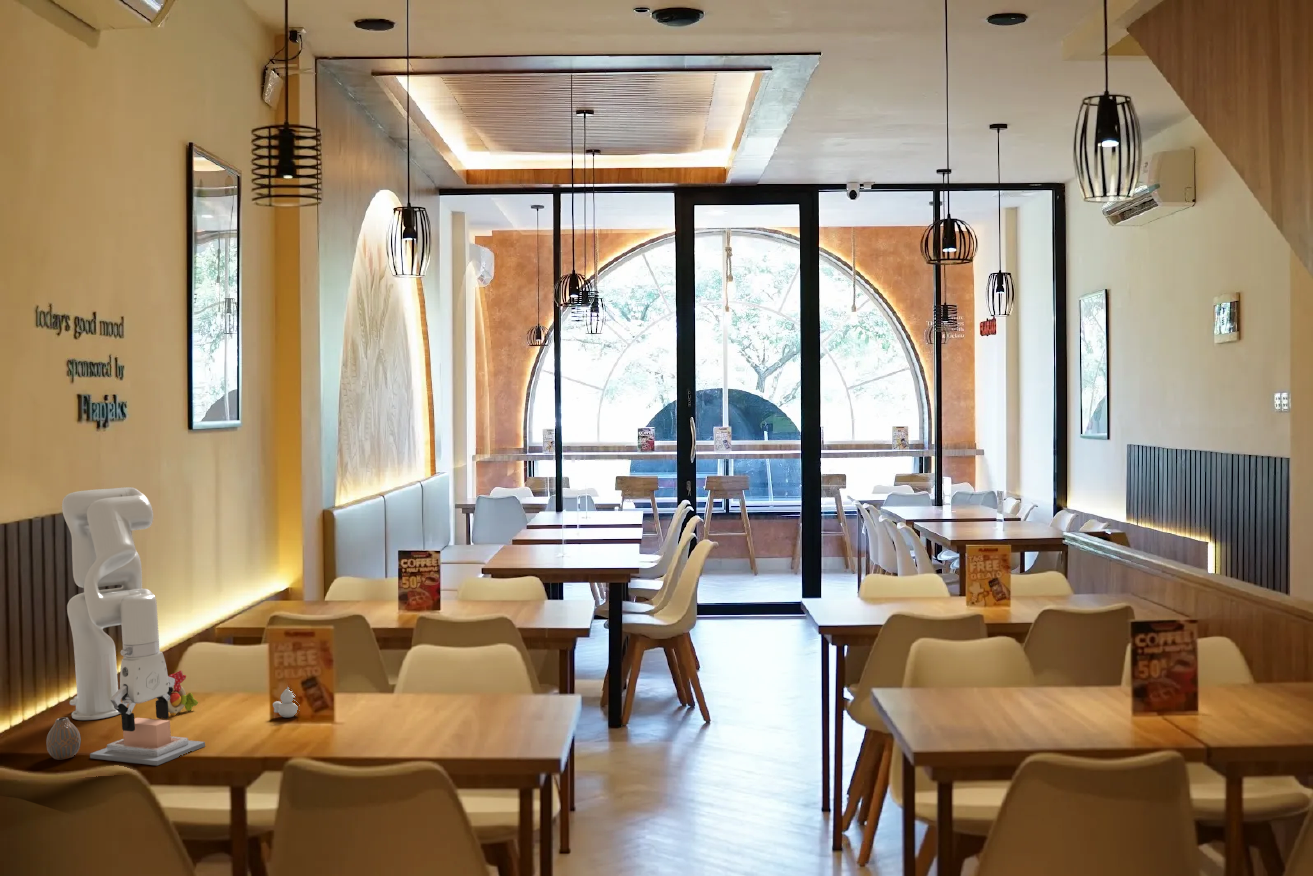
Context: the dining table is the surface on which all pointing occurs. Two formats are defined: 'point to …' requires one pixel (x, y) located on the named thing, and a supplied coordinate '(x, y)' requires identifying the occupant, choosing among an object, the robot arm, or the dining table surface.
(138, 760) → the board
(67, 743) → the vase
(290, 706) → the rubber duck
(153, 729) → the keyed block
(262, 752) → the dining table surface
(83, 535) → the robot arm
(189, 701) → the bird rattle
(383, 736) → the dining table surface
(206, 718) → the dining table surface
